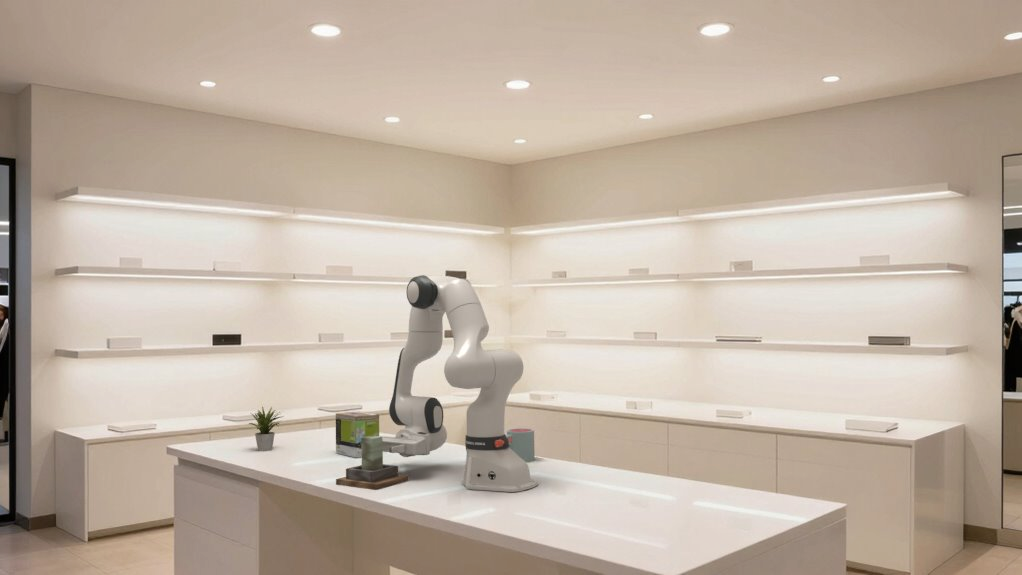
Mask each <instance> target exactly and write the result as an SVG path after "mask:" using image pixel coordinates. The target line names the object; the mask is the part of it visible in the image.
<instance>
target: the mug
mask: <svg viewBox="0 0 1022 575" xmlns="http://www.w3.org/2000/svg"><path fill="white" fill-rule="evenodd" d="M505 435H506V437H507V438H508V439H509V438H512V439H511V440H510V441H512V442H509V445H510V448H511V449H512V450H513V451H514V452H515V453H516V454H517V455H518V456H519V457H521V458H522V459H523V460H524V461H525V462H526V463H531V462H535V460H536V459H535V458H536V457H535V453H536V452H535V429H533V428H527V427H526V428H520V427H519V428H510V429H509V428H508V429H507V430H506V434H505Z"/></svg>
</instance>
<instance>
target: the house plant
mask: <svg viewBox="0 0 1022 575" xmlns="http://www.w3.org/2000/svg"><path fill="white" fill-rule="evenodd" d="M261 410H262V412H261ZM261 410H259V409H257V413H256V412H254V414H255V415H254V414H253V413H251V416H252V417H253V418H254V419H255V421H256V422H257V424H256V423H253V422H250V423H248V425H252V426H255V427H256V430H259V431H258V432H256V433H254V435H255V442H256V446H257V451H259V452H269V451H273V447H274V438H275V433H276V432H275V431H271V430H273V427H275V426H277V427H278V428H280V427H279V425H280V422H281V420H280V421H277V422H274V421H275V420H278V419H281V418H284V417H285V415H283V416H279V415H280V414H281V413H283V412H284V410H282V411H278V412H277V409H274V410H273V407H272V406H271V407H270V409H269V410H268V412H267V413H265V409H264V407H263V406H261ZM277 416H278V417H277Z"/></svg>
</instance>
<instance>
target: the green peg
mask: <svg viewBox="0 0 1022 575" xmlns="http://www.w3.org/2000/svg"><path fill="white" fill-rule="evenodd" d="M361 448H362V457H361V465H362V470H368V471H375V470H379V469H383V464H384V459H383V458H384V455H383V440H382V437H381V435H379V436H367V437H362V438H361Z"/></svg>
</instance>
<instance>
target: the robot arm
mask: <svg viewBox="0 0 1022 575" xmlns="http://www.w3.org/2000/svg"><path fill="white" fill-rule="evenodd" d="M406 298H407V301H408V303H409V305H411V306H410V307H411V308H410V312H409V320H408V334H407V335H408V336H407V341H406V344H405V346H404V347H402V349H401V350H400V353H399V355H398V356H399V357H398V361H397V366H396V374H395V381H394V385H393V393H392V397H391V400H390V403H389V406H388V407H389V409H388V412H389V413H388V414H389V416H390V418H391V420H392V422H393V423H394V424H395V425H397V426H400V427H401V426H404V427H405V426H407V425H412V427H411V428H406V429H405V428H403V429H400V430H399V431H398V432H397V433H396V435H395V436H389V435H382V436H381V435H380V436H381V437H382V440H383V452H385V453H389V454H398V455H400V456H401V457H403V458H409V457H416V456H428V455H430V454H431V452H434V451H435V450H438V449H439V448H441V447H442V446H443V445H444V444H445V443H446V440H447V438H448V432H447V429H446V426H444V410H443V406H442V404H441V402H440V400H439V399H437V398H436V397H432V396H420V395H419V396H417V395H412V385H413V378H414V373H415V370H416V368H417V367H418V365H419V364H421V363H422V362H424V361H427V360H429V359H431V358H433V357H434V356H436V355H437V354H438V353H439V351H440V350H441V349H442V345H443V330H444V328H443V325H444V324H443V320H444V319H443V317H444V314H445V315H446V318H447V322H448V324H449V327H450V330H451V334H452V337H453V349H452V352H451V353H450V355H449V356H448V358H447V359H446V361H445V364H444V368H443V373H444V377H445V380H446V382H447V383H448V384H449V386H451V387H453V388H457V389H463V390H472V389H480V391H479V394H478V396H477V398H476V399H475V400H474V401H473V402H471V403H470V404H469V405H468V407H467V409H466V434H465V447H464V448H465V452H466V455H465V456H466V457H465V458H466V459H465V468H464V473H463V479H462V481H461V484H462V485H463V486H465V489H466V490H476V491H491V492H492V491H493V492H508V493H515V492H522V491H527V490H529V489H532V488H534V487H537V486H538V485H539V482H538V479H533V478H531V472H530V468H529V464H528V462H525V461H524V460H523V459H522V458H521V457H519V456H518V455H517V454H516V453H515V452H514V451H513V450H512V449H511V448H510V445H509V442H512V441H510V440H511V439H512V438H509V439H508V438H507V437H506V435H507V434H505V412H506V404H507V401H508V397H509V395H510V392H511V391H512V389H513V388H514V387H515V384H517V383H518V382H519V381H520V380H521V379H522V376H523V374H524V373H523V372H524V362H523V360H522V357H521V356H520V354H518V352H516V351H513V350H508V349H487V350H486V349H484V348H483V347H482V341H484V339H485V338H487V336H488V334H489V331H490V325H489V323H488V320H487V317H486V314H485V311H484V308H483V306H482V304H481V300H480V299H479V296H478V294H477V293H476V290H475V289H474V287H473V285H472V283H471V282H470V280H468V279H467V278H463V277H460V276H456V277H454V276H449V275H448V276H447V275H442V274H441V275H440V274H438V275H437V274H433V275H425V274H423V275H422V274H421V275H417V276H413V277H412V278H411V279H410V281H409V282H408V284H407V288H406Z"/></svg>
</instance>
